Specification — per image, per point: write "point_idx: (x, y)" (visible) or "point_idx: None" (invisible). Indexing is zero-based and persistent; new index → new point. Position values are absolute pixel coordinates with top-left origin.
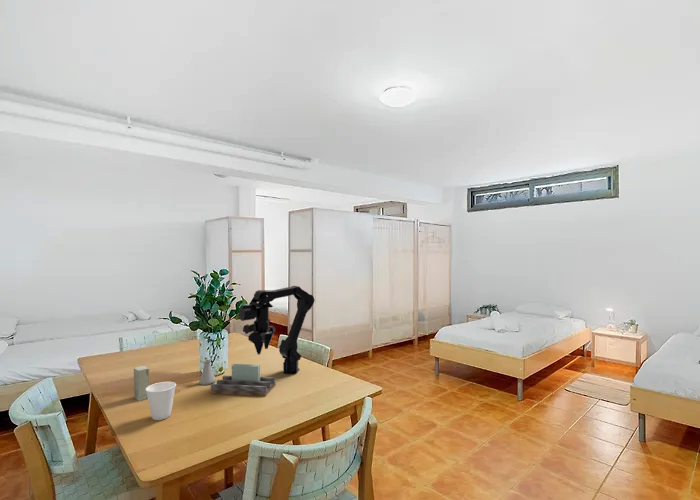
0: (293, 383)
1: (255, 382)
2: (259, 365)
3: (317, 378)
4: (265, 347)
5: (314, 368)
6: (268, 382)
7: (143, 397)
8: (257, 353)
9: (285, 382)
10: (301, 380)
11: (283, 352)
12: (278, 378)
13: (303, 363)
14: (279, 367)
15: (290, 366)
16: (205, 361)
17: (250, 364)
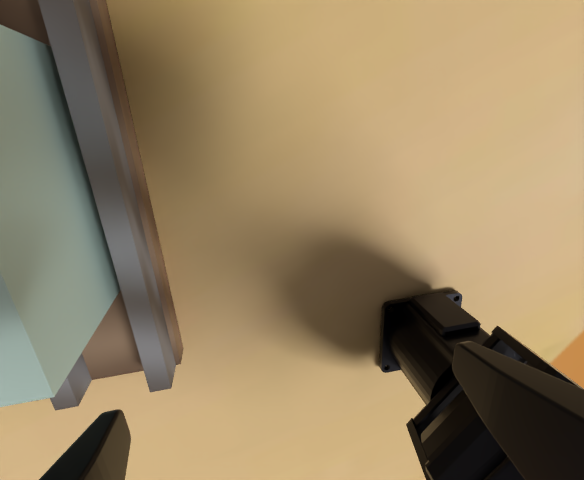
0: (237, 417)
1: None
2: (31, 400)
3: (327, 473)
4: (469, 365)
5: None
6: (52, 399)
7: None
8: (88, 428)
9: (241, 376)
10: (288, 429)
11: (466, 433)
12: (297, 313)
13: (546, 328)
14: (493, 228)
15: (407, 369)
16: None
17: (5, 284)
